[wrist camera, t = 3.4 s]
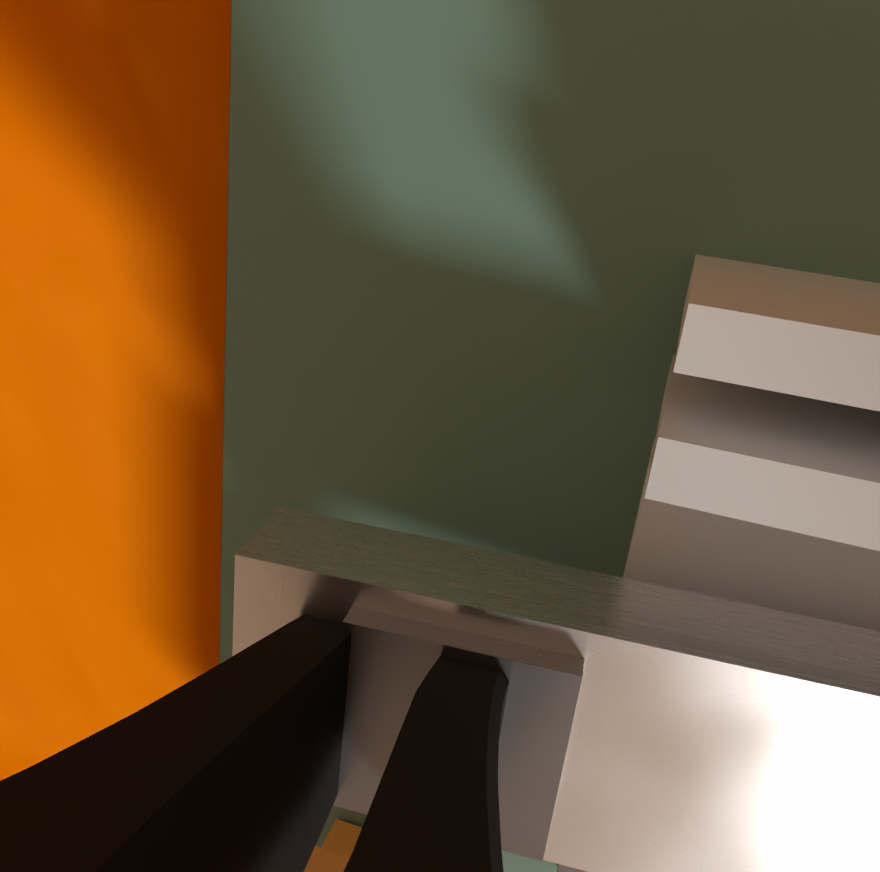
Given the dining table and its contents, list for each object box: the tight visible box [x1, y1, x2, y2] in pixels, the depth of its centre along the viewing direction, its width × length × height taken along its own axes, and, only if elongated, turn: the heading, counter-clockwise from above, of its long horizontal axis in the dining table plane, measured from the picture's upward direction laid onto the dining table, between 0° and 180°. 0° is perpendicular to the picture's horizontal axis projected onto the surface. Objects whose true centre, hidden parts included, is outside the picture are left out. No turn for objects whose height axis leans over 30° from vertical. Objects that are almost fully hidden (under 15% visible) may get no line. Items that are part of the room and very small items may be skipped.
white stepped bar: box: [232, 506, 880, 872], centre depth 9 cm, size 13×3×2 cm, turn 85°
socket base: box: [219, 0, 880, 872], centre depth 9 cm, size 18×20×4 cm
